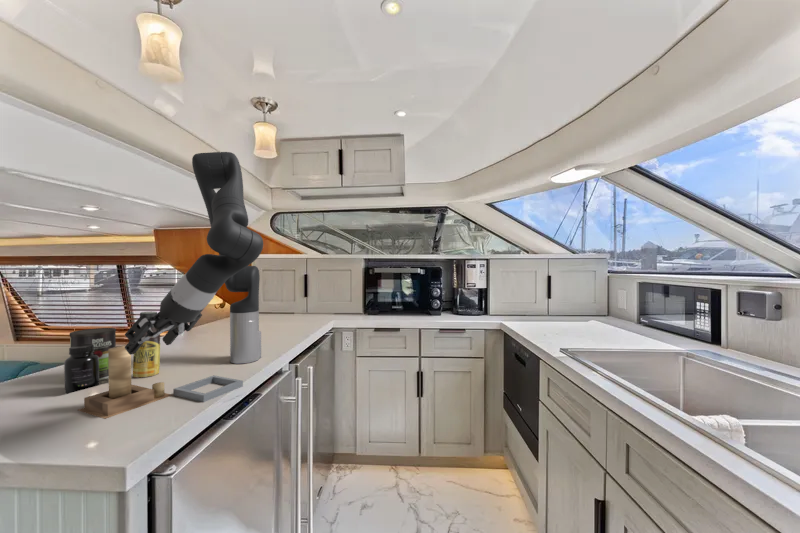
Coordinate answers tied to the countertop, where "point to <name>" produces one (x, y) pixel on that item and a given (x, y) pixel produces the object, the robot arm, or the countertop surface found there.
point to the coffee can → (97, 345)
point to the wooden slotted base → (123, 401)
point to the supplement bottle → (81, 368)
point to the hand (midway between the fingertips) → (148, 346)
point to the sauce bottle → (147, 354)
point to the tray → (203, 397)
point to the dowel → (119, 372)
